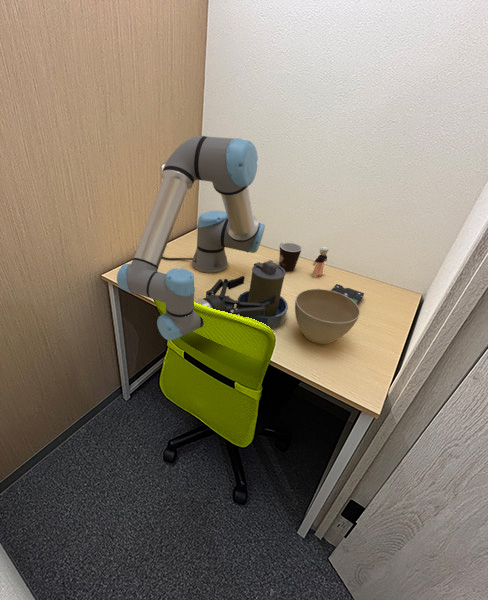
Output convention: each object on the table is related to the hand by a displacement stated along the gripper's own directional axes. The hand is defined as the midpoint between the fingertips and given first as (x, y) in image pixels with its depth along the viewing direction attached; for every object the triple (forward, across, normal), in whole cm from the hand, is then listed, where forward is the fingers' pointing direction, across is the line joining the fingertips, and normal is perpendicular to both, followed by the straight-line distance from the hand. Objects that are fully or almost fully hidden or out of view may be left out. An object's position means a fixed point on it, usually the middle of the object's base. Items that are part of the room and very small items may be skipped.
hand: (258, 288), depth 108 cm
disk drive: (+33, +12, -12) cm, 37 cm away
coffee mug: (+38, -18, -12) cm, 44 cm away
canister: (+3, 0, -12) cm, 12 cm away
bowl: (+3, 0, -12) cm, 12 cm away
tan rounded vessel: (+10, +18, -12) cm, 24 cm away
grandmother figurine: (+43, -6, -12) cm, 45 cm away
